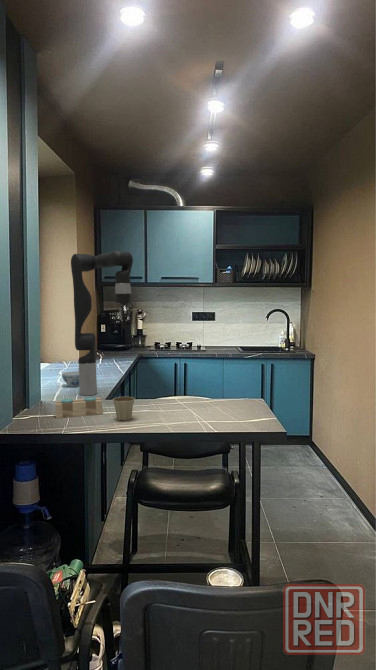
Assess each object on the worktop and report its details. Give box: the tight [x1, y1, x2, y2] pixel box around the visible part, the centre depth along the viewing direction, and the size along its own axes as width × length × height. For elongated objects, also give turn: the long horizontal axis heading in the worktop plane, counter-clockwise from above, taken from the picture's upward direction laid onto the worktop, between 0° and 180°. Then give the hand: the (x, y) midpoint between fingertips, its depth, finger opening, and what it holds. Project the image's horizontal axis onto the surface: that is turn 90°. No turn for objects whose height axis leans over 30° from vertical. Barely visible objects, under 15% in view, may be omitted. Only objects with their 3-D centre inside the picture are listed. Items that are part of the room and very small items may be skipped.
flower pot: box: [112, 396, 136, 421], centre depth 191 cm, size 9×9×9 cm
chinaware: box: [61, 370, 80, 388], centre depth 270 cm, size 15×15×8 cm
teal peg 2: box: [83, 396, 97, 401], centre depth 202 cm, size 5×5×7 cm
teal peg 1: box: [60, 398, 74, 403], centre depth 200 cm, size 5×5×7 cm
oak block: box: [54, 397, 104, 419], centre depth 201 cm, size 7×20×6 cm, turn 106°
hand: (124, 328), depth 219 cm, fingers closed
